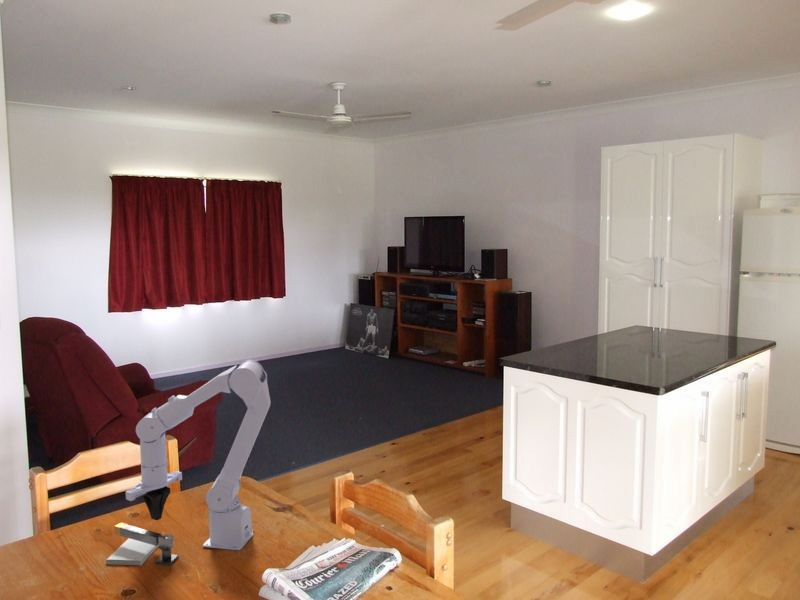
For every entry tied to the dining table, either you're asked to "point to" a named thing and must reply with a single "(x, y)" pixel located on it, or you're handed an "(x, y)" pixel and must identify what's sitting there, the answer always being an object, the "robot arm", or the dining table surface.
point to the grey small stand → (166, 558)
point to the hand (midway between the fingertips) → (156, 518)
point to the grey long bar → (144, 536)
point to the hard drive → (131, 553)
